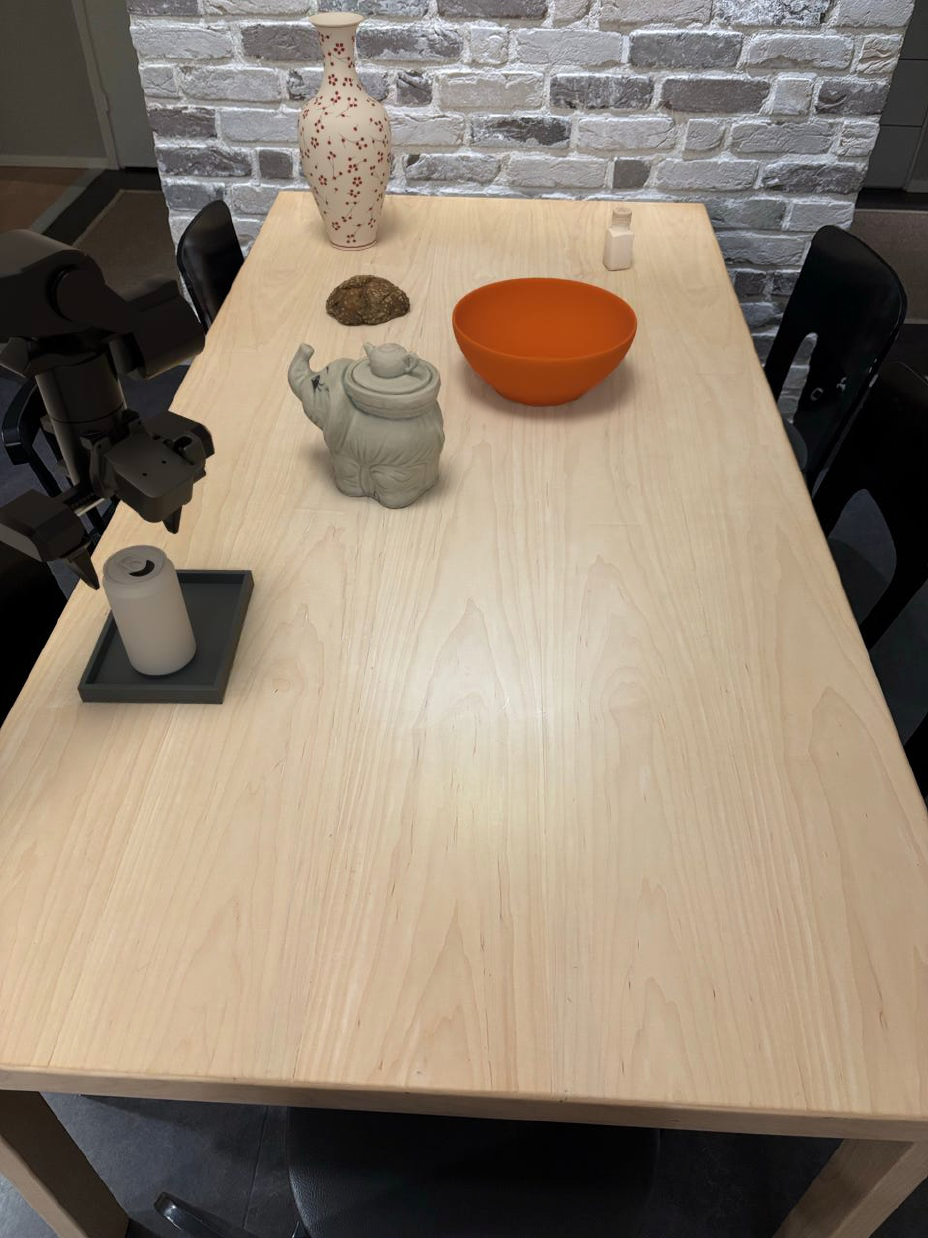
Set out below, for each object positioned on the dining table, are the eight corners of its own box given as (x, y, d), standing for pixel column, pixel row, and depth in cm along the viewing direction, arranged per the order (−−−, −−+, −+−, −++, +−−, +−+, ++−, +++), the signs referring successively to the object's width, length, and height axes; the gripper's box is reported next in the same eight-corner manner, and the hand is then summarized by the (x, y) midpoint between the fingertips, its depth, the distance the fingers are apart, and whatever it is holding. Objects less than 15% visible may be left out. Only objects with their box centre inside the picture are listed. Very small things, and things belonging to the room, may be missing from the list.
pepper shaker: (601, 262, 161) (607, 206, 155) (622, 260, 162) (629, 205, 156) (609, 271, 159) (615, 215, 152) (630, 269, 159) (638, 213, 153)
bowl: (571, 328, 143) (577, 265, 136) (663, 403, 126) (674, 336, 119) (424, 361, 135) (422, 295, 128) (501, 446, 118) (504, 376, 112)
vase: (363, 266, 160) (347, 32, 136) (291, 247, 166) (262, 20, 142) (413, 235, 170) (406, 13, 146) (343, 219, 176) (325, 3, 152)
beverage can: (164, 690, 87) (133, 596, 78) (116, 663, 89) (82, 570, 81) (211, 649, 91) (187, 556, 82) (164, 625, 93) (136, 532, 85)
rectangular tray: (222, 704, 86) (218, 690, 85) (82, 702, 86) (76, 688, 85) (254, 583, 99) (251, 569, 97) (132, 582, 99) (128, 568, 97)
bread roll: (370, 285, 154) (368, 256, 150) (420, 308, 148) (419, 278, 144) (310, 309, 147) (307, 279, 144) (361, 334, 141) (358, 303, 138)
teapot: (296, 459, 116) (276, 318, 103) (405, 432, 121) (399, 294, 108) (340, 532, 105) (324, 385, 92) (458, 499, 110) (459, 355, 97)
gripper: (58, 497, 62) (117, 657, 72) (246, 381, 73) (273, 534, 84) (-45, 447, 66) (25, 606, 77) (148, 345, 77) (185, 496, 88)
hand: (135, 559), depth 81 cm, fingers open, 9 cm apart
